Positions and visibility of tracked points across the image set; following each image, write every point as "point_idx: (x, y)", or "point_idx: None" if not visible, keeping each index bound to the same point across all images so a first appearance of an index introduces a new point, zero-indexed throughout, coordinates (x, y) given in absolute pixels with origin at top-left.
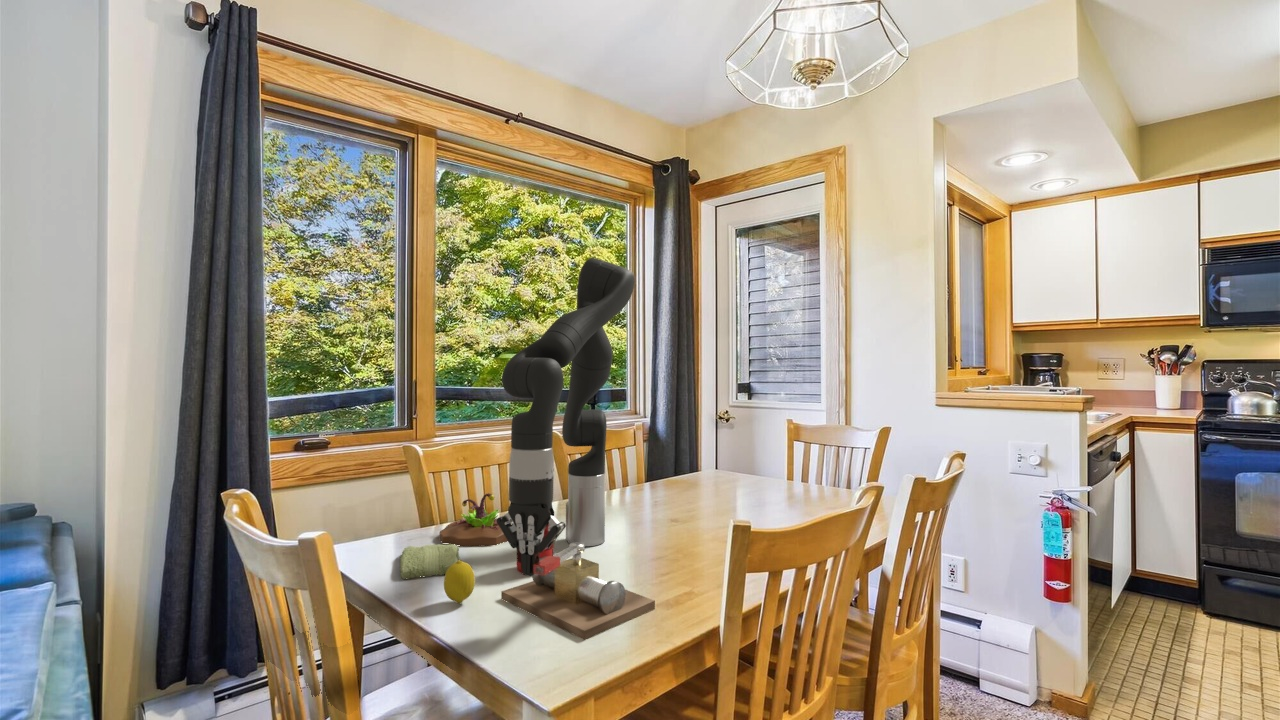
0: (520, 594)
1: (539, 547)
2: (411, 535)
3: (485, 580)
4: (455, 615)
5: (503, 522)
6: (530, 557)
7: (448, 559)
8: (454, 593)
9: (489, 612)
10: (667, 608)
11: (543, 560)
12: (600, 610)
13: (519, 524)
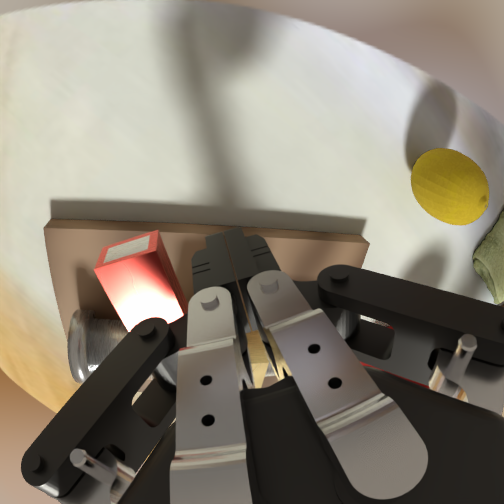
0: (322, 259)
1: (149, 338)
2: None
3: (429, 269)
4: (389, 121)
5: (485, 336)
6: (213, 281)
7: (497, 261)
8: (432, 151)
9: (340, 173)
10: (76, 384)
11: (167, 311)
12: (91, 310)
13: (348, 407)
